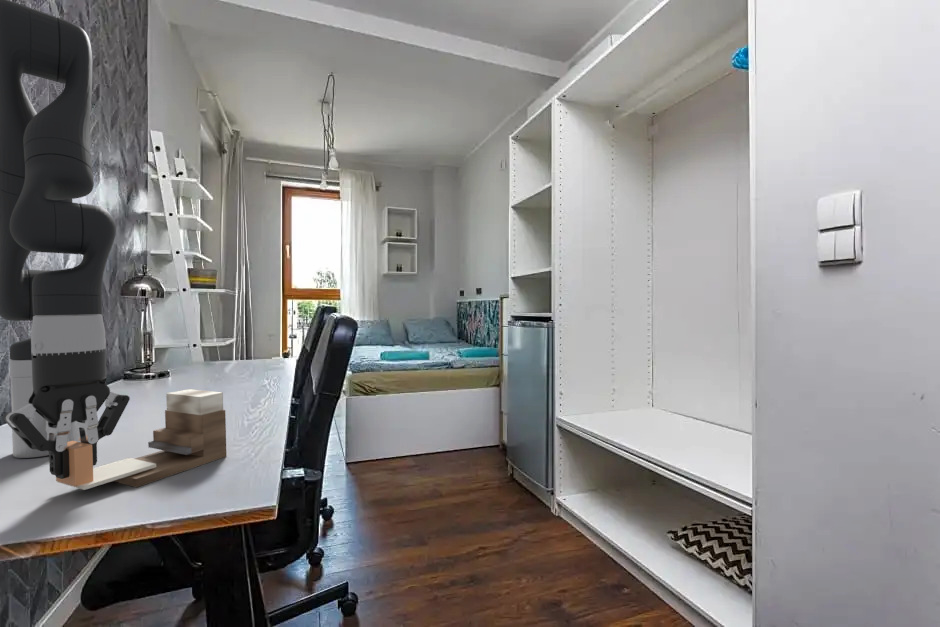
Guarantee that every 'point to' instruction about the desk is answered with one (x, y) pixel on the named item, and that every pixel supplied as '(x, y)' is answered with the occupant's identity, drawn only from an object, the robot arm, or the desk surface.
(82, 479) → the plank with orange cube
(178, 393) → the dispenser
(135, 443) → the desk surface
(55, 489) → the desk surface
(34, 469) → the desk surface
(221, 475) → the desk surface
